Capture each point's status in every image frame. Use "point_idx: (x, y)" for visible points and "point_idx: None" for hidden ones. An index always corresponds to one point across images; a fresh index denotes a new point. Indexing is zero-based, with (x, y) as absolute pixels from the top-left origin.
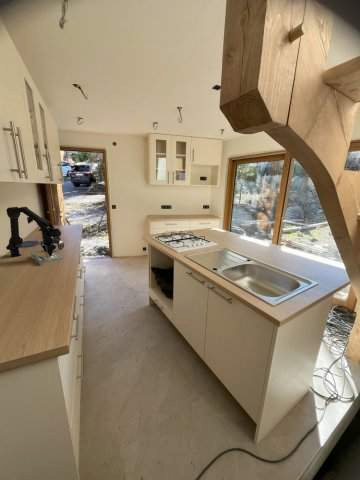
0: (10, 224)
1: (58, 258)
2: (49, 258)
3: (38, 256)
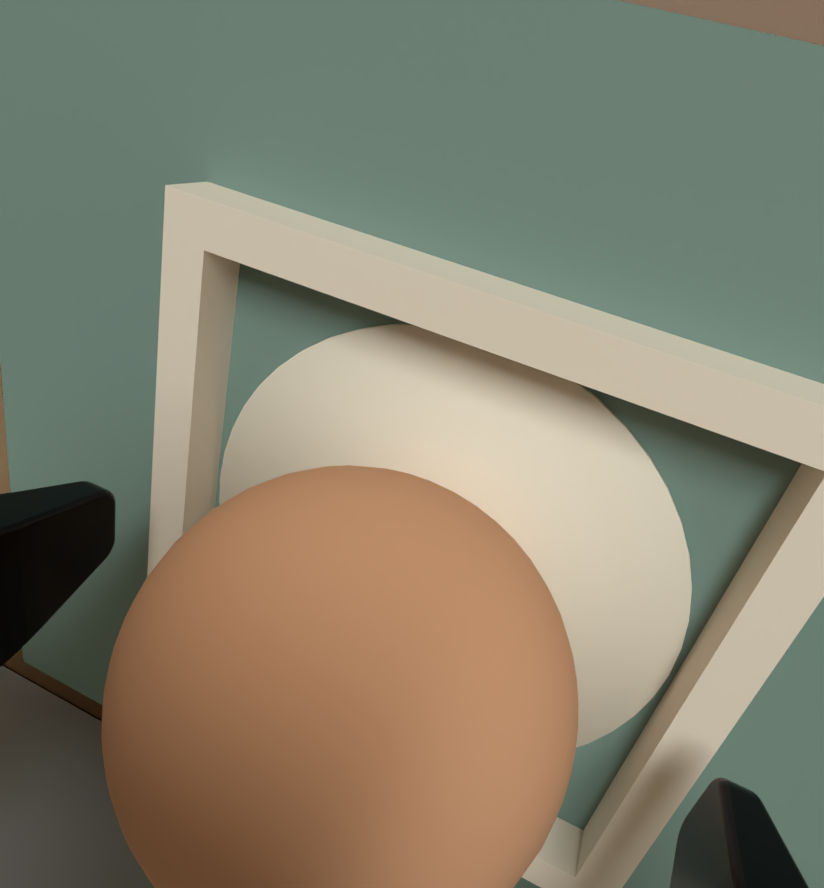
0: None
1: None
2: (686, 775)
3: (46, 632)
